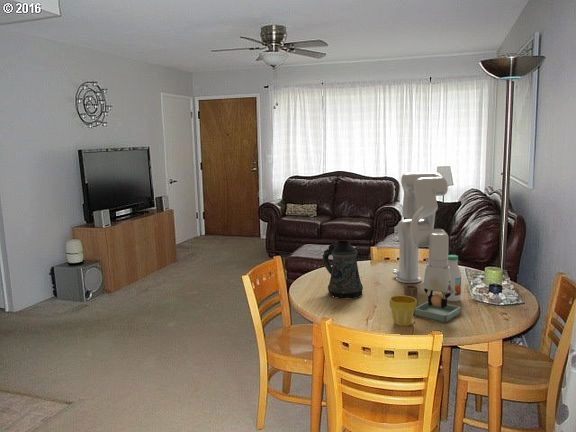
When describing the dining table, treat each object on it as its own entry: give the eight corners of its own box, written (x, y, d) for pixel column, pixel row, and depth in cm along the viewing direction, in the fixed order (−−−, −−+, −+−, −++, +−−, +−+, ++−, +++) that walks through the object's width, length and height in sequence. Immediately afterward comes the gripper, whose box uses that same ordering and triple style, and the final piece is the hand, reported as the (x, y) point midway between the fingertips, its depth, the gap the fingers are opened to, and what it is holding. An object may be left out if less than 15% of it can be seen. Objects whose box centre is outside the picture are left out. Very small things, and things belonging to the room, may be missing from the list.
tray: (413, 315, 197) (413, 308, 197) (429, 306, 207) (429, 300, 207) (445, 323, 187) (445, 316, 187) (460, 313, 197) (461, 307, 197)
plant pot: (412, 317, 194) (412, 294, 193) (419, 327, 184) (420, 302, 183) (386, 318, 194) (386, 295, 193) (393, 328, 184) (393, 303, 182)
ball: (428, 306, 196) (428, 294, 196) (434, 303, 200) (434, 291, 199) (440, 308, 193) (440, 296, 192) (445, 305, 197) (446, 293, 196)
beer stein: (362, 299, 218) (361, 246, 214) (319, 298, 222) (318, 245, 218) (363, 289, 234) (363, 238, 230) (324, 287, 238) (323, 238, 234)
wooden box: (404, 302, 213) (404, 287, 212) (408, 300, 216) (408, 284, 215) (412, 304, 210) (412, 288, 209) (417, 301, 213) (417, 286, 212)
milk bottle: (449, 302, 211) (450, 258, 208) (439, 297, 218) (440, 254, 215) (464, 300, 213) (465, 256, 210) (453, 295, 220) (455, 253, 217)
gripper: (414, 261, 197) (414, 304, 200) (454, 268, 185) (453, 313, 188) (423, 258, 202) (422, 299, 205) (462, 264, 191) (461, 308, 193)
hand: (437, 305), depth 196 cm, fingers closed on ball, 4 cm apart
